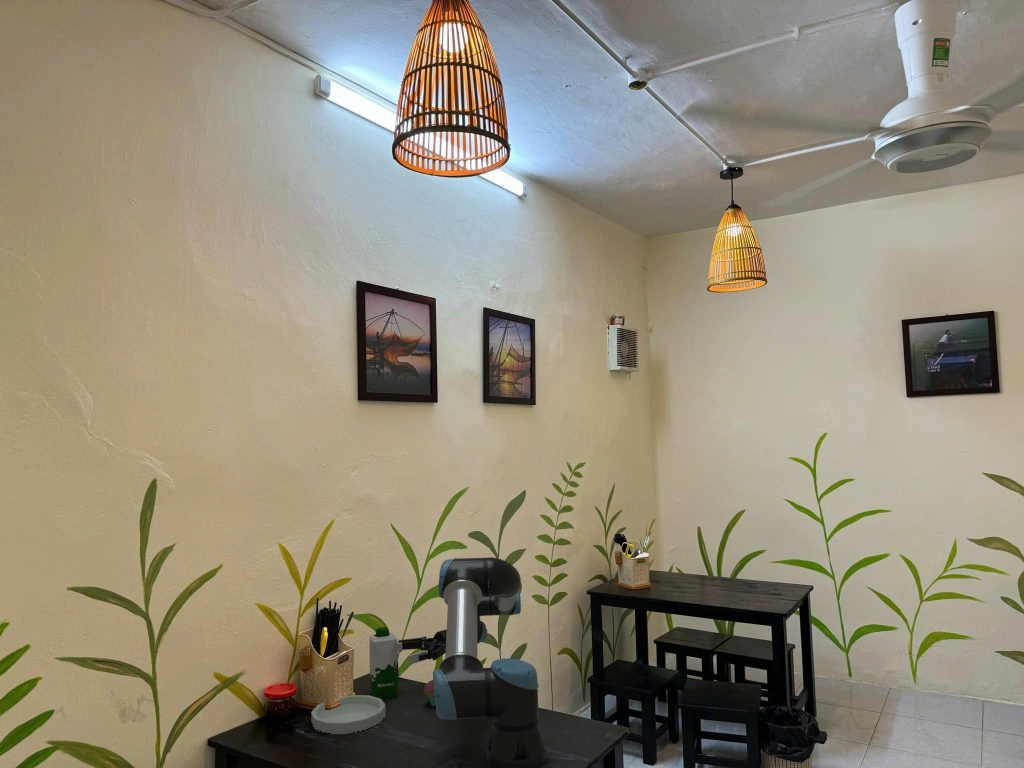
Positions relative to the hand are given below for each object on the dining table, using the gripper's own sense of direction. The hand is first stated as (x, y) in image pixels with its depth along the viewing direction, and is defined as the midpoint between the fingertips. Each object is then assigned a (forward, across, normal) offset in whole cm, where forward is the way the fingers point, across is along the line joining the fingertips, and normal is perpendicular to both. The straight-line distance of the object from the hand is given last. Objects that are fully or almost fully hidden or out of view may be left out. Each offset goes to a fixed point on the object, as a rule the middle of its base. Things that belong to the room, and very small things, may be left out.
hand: (396, 655), depth 229 cm
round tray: (+23, -9, -11) cm, 27 cm away
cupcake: (-1, -20, -11) cm, 22 cm away
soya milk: (+5, 0, -11) cm, 12 cm away
